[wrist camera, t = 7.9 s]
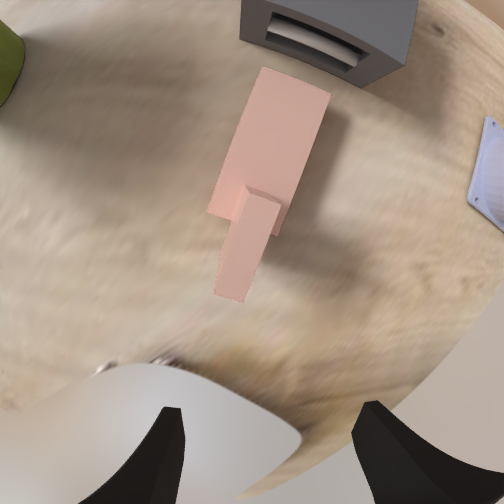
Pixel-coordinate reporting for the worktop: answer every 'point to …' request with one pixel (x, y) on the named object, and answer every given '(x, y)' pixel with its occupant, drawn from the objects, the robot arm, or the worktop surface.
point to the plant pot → (9, 60)
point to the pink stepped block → (263, 172)
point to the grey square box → (334, 33)
